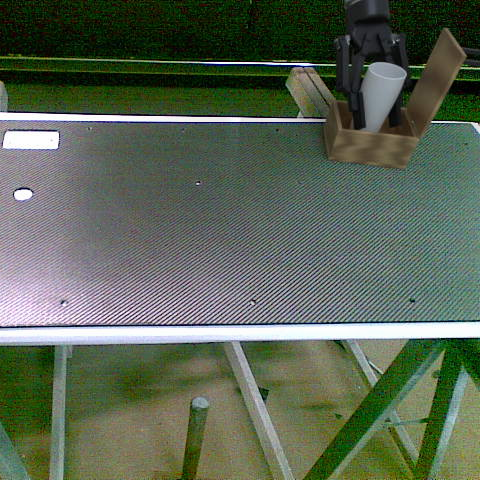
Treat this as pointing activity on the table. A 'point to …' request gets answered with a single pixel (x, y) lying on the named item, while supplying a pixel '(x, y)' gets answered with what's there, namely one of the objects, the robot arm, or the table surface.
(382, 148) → the chest
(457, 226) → the table surface
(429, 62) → the chest lid
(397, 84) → the drinking glass
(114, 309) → the table surface
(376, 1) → the robot arm
